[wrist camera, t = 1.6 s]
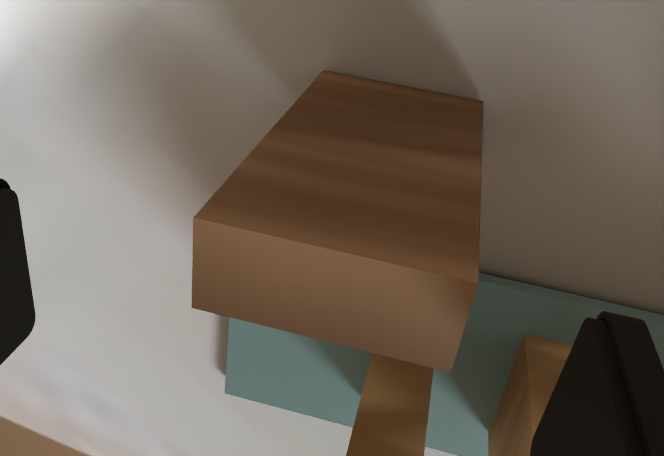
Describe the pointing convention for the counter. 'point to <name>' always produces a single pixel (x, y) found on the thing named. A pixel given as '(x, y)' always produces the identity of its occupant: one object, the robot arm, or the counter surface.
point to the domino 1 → (352, 222)
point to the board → (447, 387)
